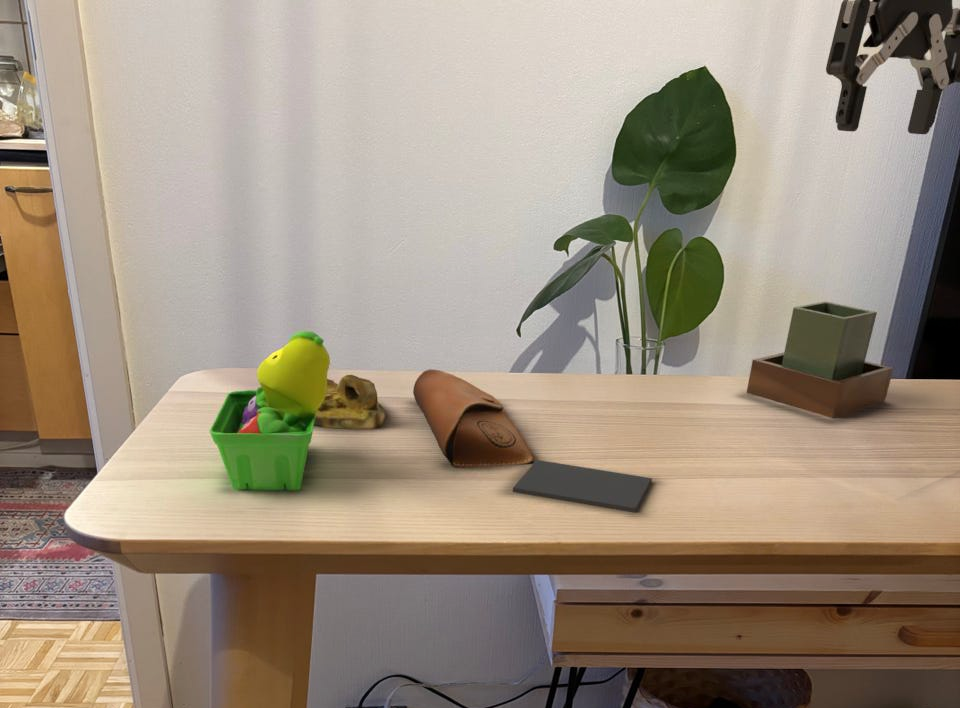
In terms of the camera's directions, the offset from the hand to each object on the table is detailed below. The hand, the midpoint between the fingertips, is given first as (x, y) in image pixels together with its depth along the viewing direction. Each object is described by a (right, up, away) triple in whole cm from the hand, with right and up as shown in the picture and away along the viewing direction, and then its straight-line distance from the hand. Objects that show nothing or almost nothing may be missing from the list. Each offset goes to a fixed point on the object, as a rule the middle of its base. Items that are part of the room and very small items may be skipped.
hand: (882, 132), depth 92 cm
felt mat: (-30, -36, -14) cm, 49 cm away
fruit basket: (-55, -35, -13) cm, 67 cm away
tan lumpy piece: (-54, -27, +1) cm, 60 cm away
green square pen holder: (-3, -23, +10) cm, 25 cm away
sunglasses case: (-40, -30, -3) cm, 50 cm away
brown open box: (-3, -23, +11) cm, 26 cm away
